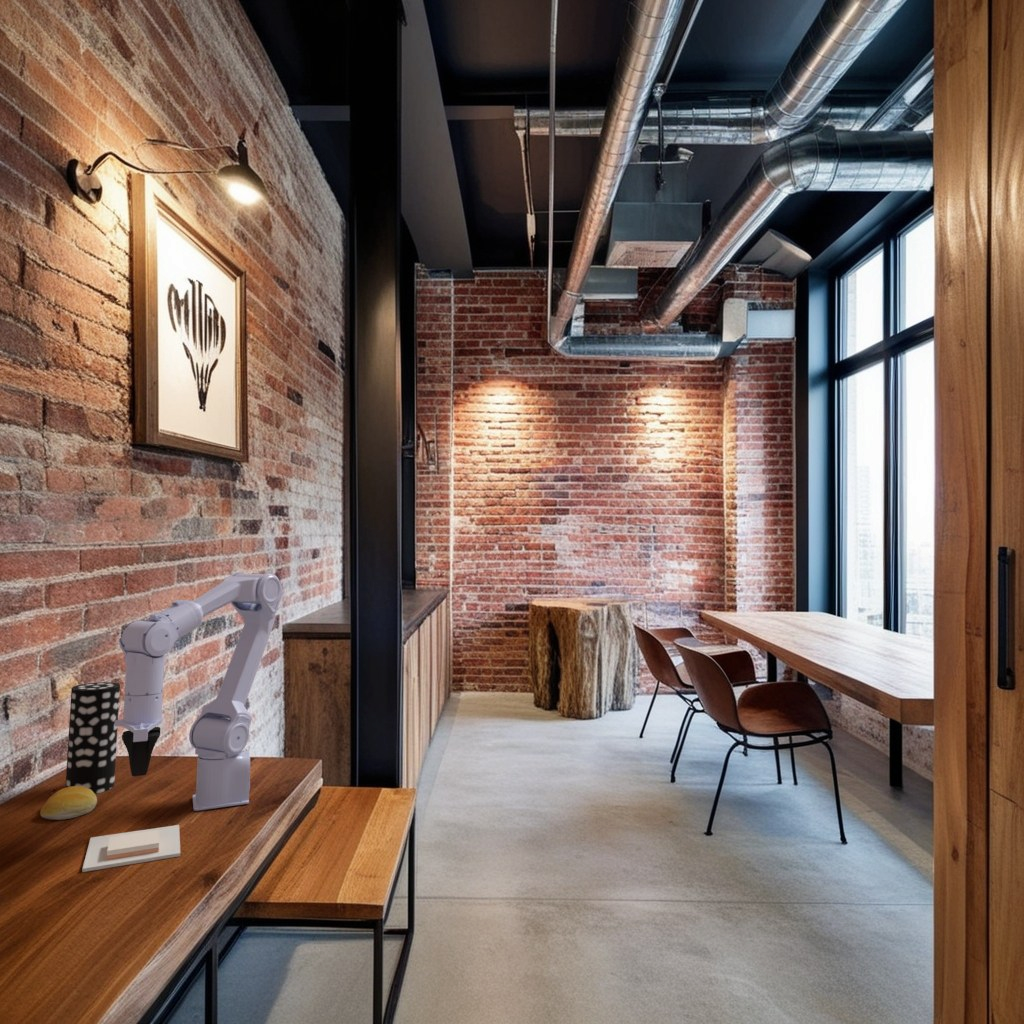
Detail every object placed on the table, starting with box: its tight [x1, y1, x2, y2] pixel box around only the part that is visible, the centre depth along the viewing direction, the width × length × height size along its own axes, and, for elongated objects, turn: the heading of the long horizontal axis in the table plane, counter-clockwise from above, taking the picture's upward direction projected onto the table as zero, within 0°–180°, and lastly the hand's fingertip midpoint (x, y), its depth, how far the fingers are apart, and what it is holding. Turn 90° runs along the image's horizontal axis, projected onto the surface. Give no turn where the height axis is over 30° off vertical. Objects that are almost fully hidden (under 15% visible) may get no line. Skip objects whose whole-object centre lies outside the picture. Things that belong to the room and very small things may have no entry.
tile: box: [107, 830, 159, 860], centre depth 106 cm, size 7×1×6 cm
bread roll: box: [39, 786, 98, 821], centre depth 122 cm, size 8×9×4 cm
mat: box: [81, 824, 181, 873], centre depth 108 cm, size 13×12×1 cm
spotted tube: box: [64, 681, 121, 795], centre depth 135 cm, size 8×8×20 cm
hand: (139, 774), depth 113 cm, fingers closed
